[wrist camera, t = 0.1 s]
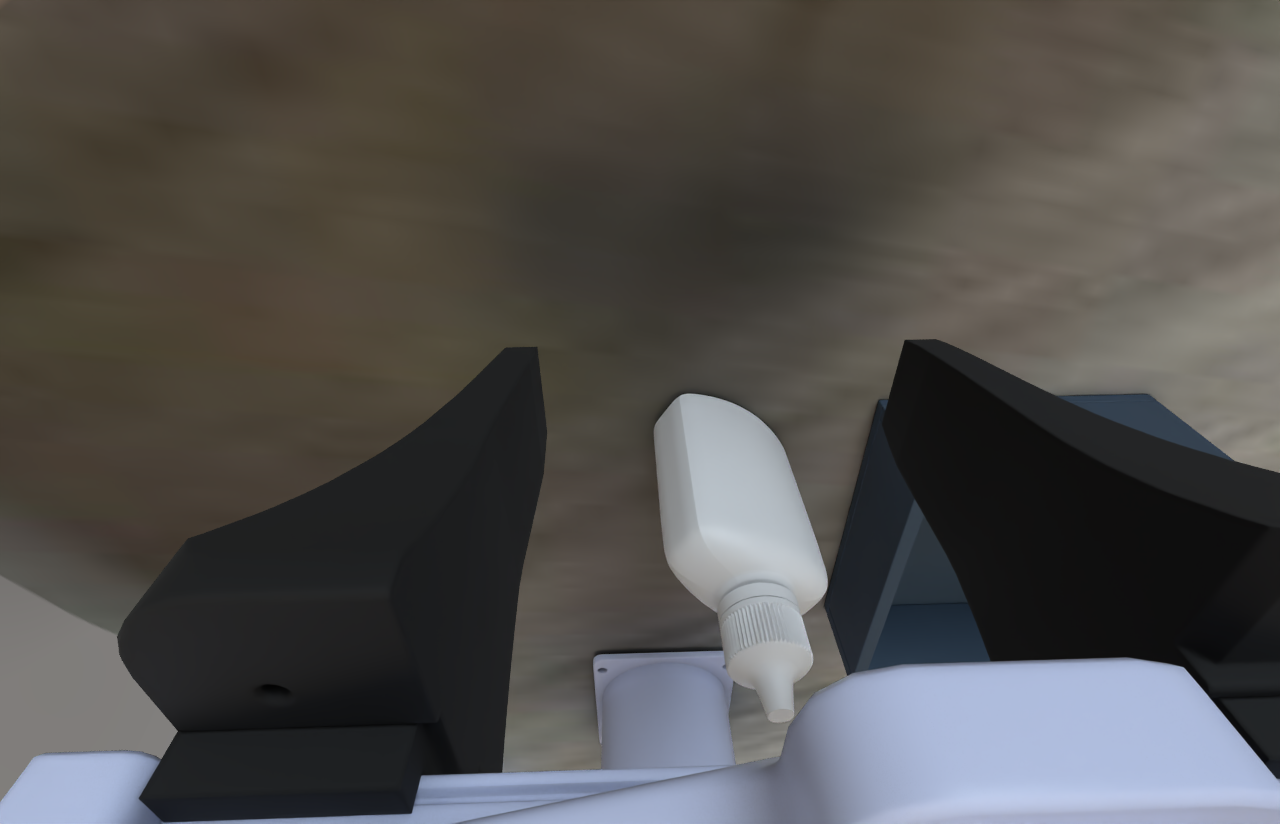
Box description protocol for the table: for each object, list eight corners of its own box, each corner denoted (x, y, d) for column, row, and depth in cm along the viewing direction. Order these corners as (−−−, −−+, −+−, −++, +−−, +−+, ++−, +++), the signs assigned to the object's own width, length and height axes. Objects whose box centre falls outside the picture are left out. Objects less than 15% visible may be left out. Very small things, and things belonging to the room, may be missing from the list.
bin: (1032, 599, 33) (1084, 678, 29) (823, 605, 32) (850, 685, 29) (1149, 393, 25) (1240, 464, 21) (878, 399, 25) (923, 472, 21)
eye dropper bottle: (699, 496, 28) (744, 780, 18) (641, 407, 25) (656, 688, 15) (790, 459, 27) (891, 740, 17) (740, 361, 24) (827, 633, 14)
